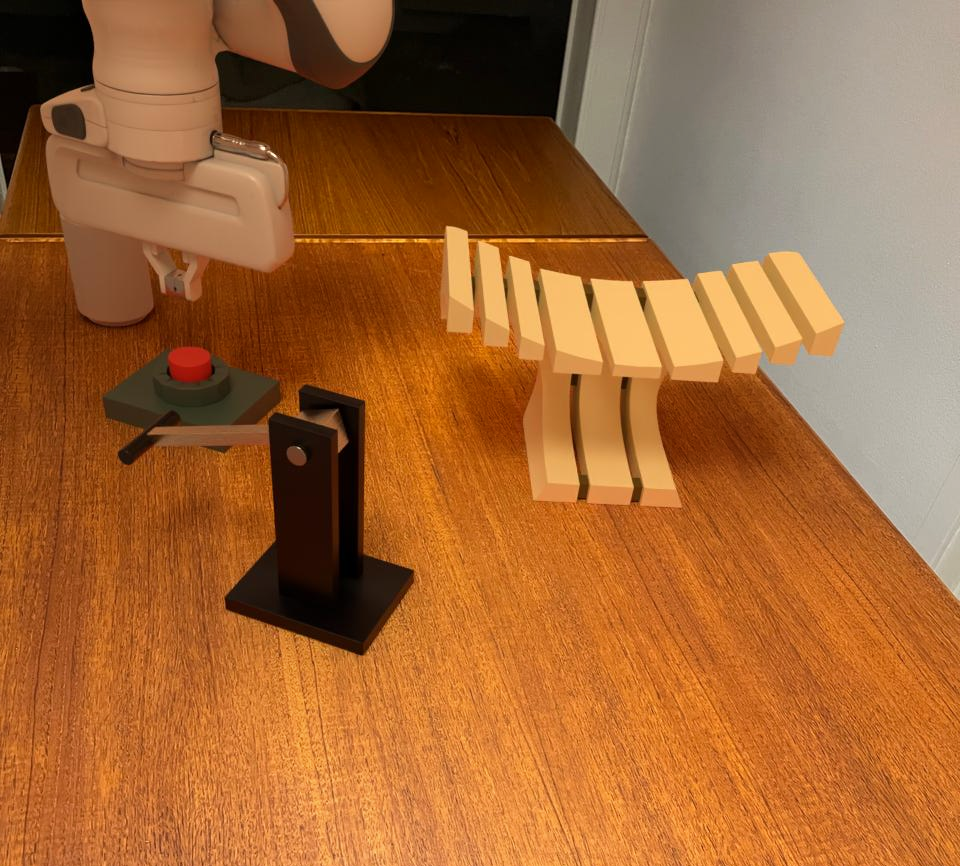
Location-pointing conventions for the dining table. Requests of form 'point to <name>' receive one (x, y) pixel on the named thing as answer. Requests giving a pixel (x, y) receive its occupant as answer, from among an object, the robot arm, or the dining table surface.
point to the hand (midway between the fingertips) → (182, 295)
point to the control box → (192, 397)
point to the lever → (217, 433)
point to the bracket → (320, 535)
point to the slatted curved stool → (627, 355)
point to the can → (108, 275)
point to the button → (190, 364)
